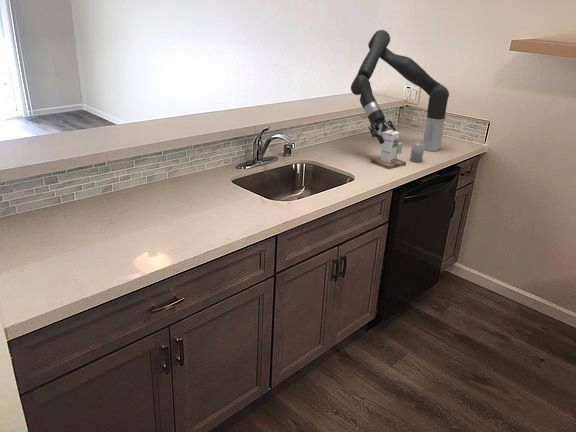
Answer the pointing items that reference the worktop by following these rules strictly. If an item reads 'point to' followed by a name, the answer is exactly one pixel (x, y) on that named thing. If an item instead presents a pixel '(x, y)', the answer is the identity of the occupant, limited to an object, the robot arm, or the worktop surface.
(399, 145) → the sage block
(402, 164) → the walnut board
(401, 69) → the robot arm
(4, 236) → the worktop surface
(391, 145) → the syrup box
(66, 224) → the worktop surface
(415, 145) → the grey rounded cylinder
